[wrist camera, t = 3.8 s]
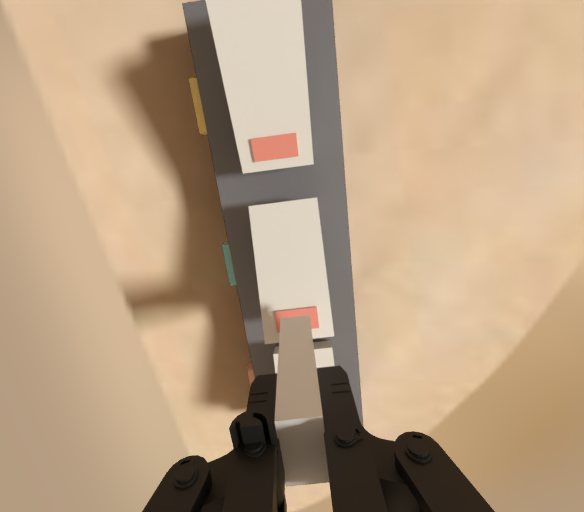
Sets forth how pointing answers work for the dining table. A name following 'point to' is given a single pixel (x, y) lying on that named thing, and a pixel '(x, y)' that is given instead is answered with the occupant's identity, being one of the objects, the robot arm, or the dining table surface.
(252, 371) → the power strip
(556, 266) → the dining table surface
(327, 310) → the cream switch plate
